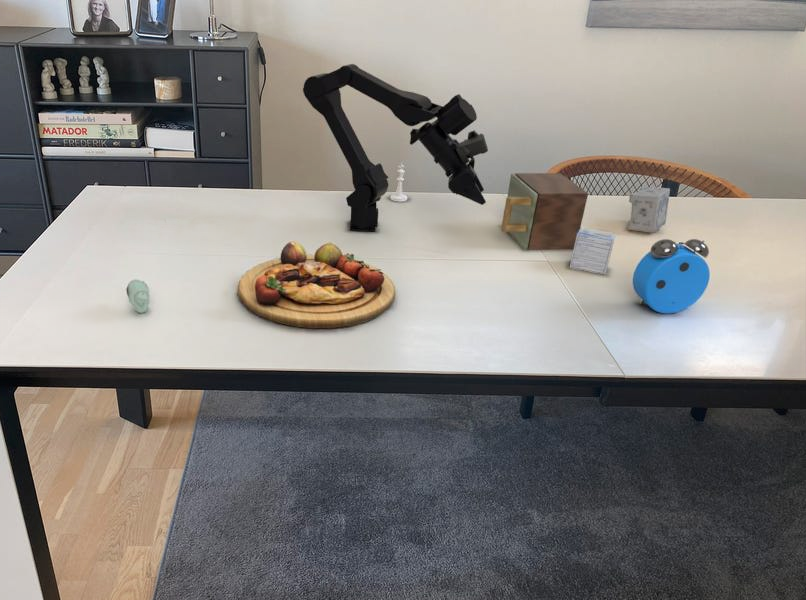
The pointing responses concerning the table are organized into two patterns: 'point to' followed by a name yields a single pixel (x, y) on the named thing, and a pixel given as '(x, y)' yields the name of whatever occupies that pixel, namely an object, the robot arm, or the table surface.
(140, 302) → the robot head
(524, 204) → the door
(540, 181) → the cupboard
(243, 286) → the wooden plate
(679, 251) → the alarm clock
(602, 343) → the table surface
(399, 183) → the chess piece
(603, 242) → the medicine box
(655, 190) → the incense holder
